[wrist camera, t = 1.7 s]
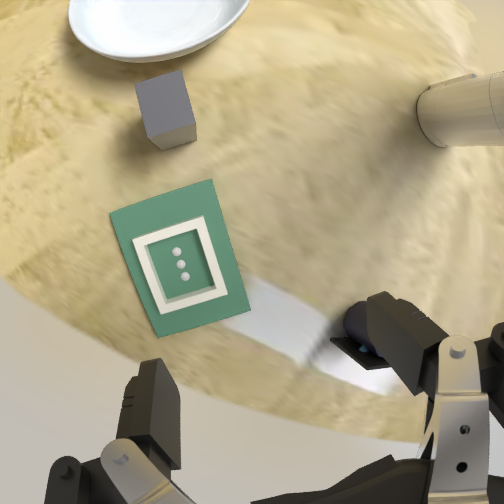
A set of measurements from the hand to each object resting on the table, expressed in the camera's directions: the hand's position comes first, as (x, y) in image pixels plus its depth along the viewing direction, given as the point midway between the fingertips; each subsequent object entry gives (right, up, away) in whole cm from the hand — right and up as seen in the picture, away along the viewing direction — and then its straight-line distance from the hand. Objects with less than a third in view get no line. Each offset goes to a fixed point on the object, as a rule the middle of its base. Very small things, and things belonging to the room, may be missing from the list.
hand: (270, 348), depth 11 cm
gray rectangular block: (-9, +18, +20) cm, 28 cm away
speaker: (+14, -6, +30) cm, 33 cm away
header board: (-9, +2, +24) cm, 25 cm away
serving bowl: (-12, +34, +16) cm, 39 cm away
